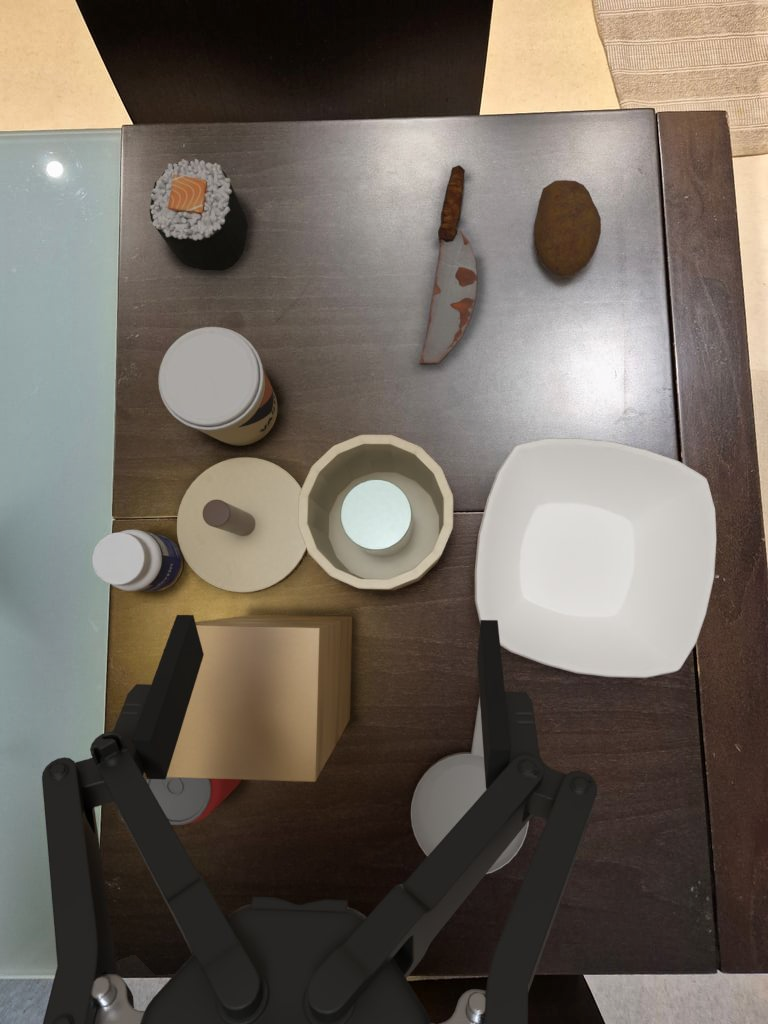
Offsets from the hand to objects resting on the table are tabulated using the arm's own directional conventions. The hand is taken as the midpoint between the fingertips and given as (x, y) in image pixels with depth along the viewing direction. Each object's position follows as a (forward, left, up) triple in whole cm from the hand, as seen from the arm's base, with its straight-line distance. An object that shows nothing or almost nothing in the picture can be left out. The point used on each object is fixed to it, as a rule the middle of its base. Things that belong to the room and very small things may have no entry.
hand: (337, 637), depth 34 cm
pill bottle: (-23, +5, -40) cm, 46 cm away
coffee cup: (-15, +21, -40) cm, 47 cm away
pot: (0, +9, -40) cm, 41 cm away
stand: (-8, -5, -40) cm, 41 cm away
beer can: (-16, -14, -40) cm, 45 cm away
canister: (0, +9, -39) cm, 40 cm away
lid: (-14, +9, -39) cm, 42 cm away
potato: (+18, +39, -40) cm, 58 cm away
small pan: (+9, -14, -40) cm, 43 cm away
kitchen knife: (+7, +36, -40) cm, 54 cm away
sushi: (-19, +40, -40) cm, 59 cm away
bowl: (+19, +6, -40) cm, 44 cm away
